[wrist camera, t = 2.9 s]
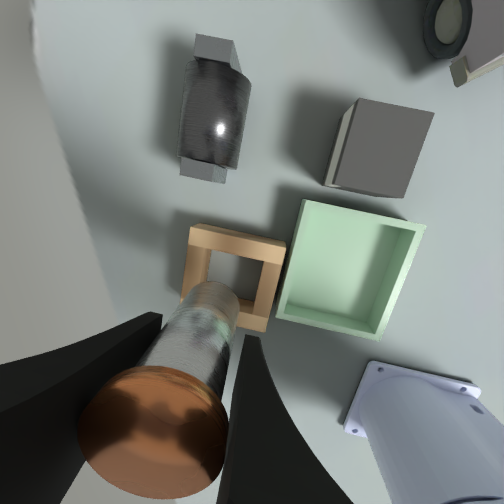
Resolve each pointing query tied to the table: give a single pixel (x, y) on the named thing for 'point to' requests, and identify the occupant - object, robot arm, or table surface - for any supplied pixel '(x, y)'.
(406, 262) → the tray
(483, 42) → the toy vehicle
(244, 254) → the socket block
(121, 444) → the pin
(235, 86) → the trolley wheel
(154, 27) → the table surface
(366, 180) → the block
